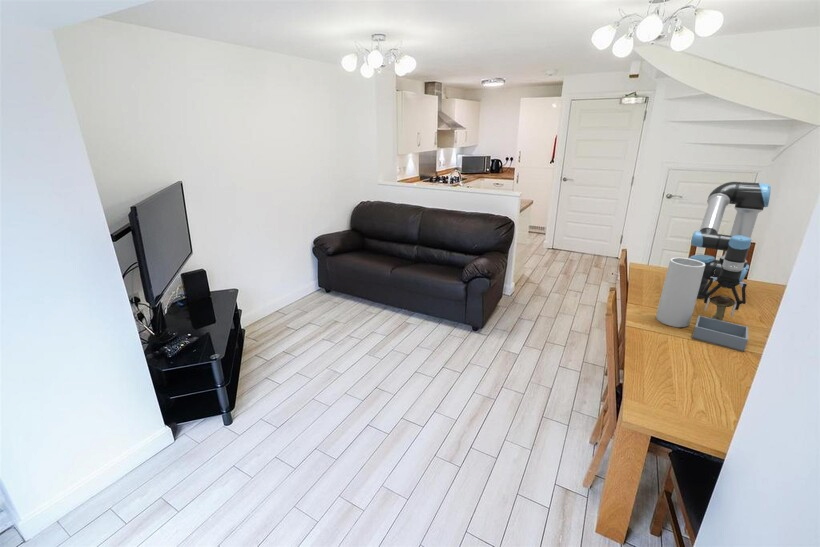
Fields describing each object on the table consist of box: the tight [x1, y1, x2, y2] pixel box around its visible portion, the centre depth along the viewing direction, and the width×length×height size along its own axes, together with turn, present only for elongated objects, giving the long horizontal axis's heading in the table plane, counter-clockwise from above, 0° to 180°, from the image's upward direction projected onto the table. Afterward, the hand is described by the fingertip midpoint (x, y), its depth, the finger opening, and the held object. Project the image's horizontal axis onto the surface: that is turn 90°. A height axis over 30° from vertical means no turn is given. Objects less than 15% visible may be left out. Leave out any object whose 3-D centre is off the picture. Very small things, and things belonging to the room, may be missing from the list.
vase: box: [655, 257, 705, 328], centre depth 187 cm, size 14×14×32 cm
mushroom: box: [709, 295, 736, 321], centre depth 187 cm, size 9×9×15 cm
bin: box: [691, 315, 749, 353], centre depth 176 cm, size 15×19×6 cm
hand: (718, 312), depth 187 cm, fingers closed on mushroom, 9 cm apart
